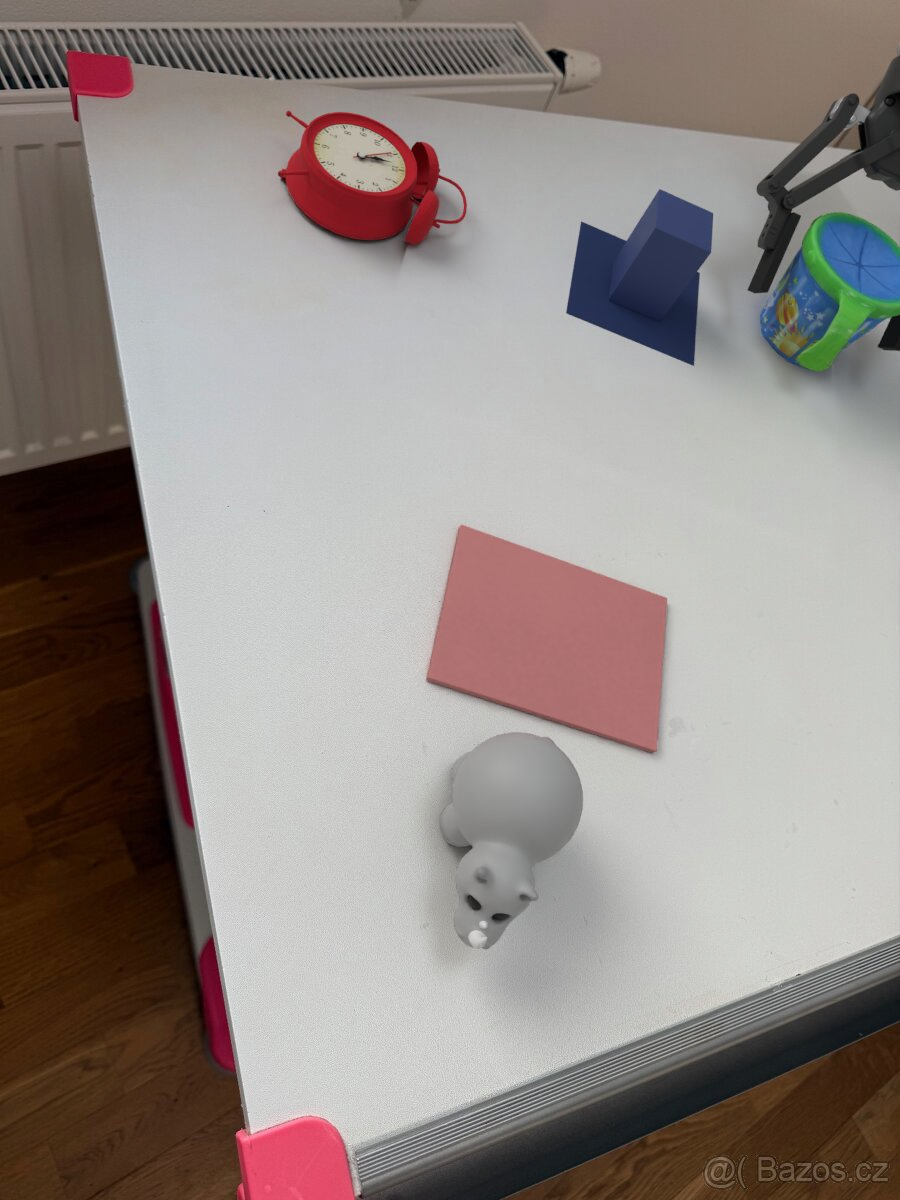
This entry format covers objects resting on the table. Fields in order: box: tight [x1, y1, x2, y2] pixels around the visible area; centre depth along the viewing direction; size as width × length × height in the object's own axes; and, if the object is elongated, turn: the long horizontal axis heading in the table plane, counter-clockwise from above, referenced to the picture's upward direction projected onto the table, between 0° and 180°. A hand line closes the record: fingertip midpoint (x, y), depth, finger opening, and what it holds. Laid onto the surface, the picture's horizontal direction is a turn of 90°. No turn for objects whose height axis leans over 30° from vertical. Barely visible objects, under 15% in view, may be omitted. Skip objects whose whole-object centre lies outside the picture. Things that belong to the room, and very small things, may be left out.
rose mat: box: [426, 524, 668, 754], centre depth 65 cm, size 16×12×1 cm
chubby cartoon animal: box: [438, 731, 584, 950], centre depth 53 cm, size 7×12×8 cm, turn 161°
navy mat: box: [565, 221, 700, 367], centre depth 84 cm, size 12×12×1 cm
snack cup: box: [759, 211, 900, 372], centre depth 85 cm, size 16×10×10 cm
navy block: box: [608, 188, 714, 321], centre depth 81 cm, size 5×5×8 cm
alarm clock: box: [277, 110, 468, 246], centre depth 77 cm, size 10×6×15 cm
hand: (823, 321), depth 84 cm, fingers open, 13 cm apart
